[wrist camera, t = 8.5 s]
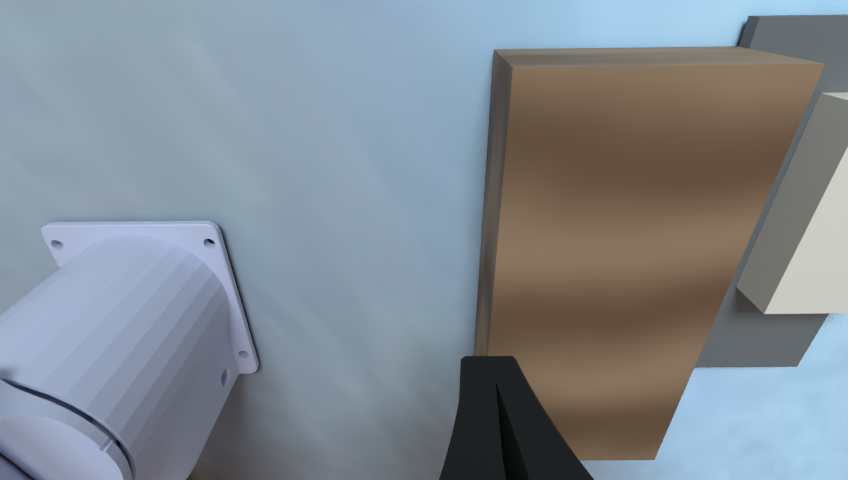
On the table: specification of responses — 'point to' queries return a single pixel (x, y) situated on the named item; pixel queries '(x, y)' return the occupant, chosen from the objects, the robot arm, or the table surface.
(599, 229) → the brown wooden block
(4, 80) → the table surface
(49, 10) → the table surface
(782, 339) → the mat
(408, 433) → the table surface
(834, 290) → the cream foam block
